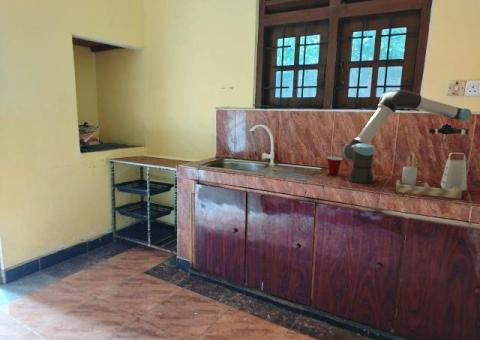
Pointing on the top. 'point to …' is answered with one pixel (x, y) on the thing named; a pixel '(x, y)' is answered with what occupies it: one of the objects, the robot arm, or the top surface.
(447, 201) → the top surface
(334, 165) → the plastic cup
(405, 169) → the utensil crock
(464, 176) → the grater
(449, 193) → the rack
